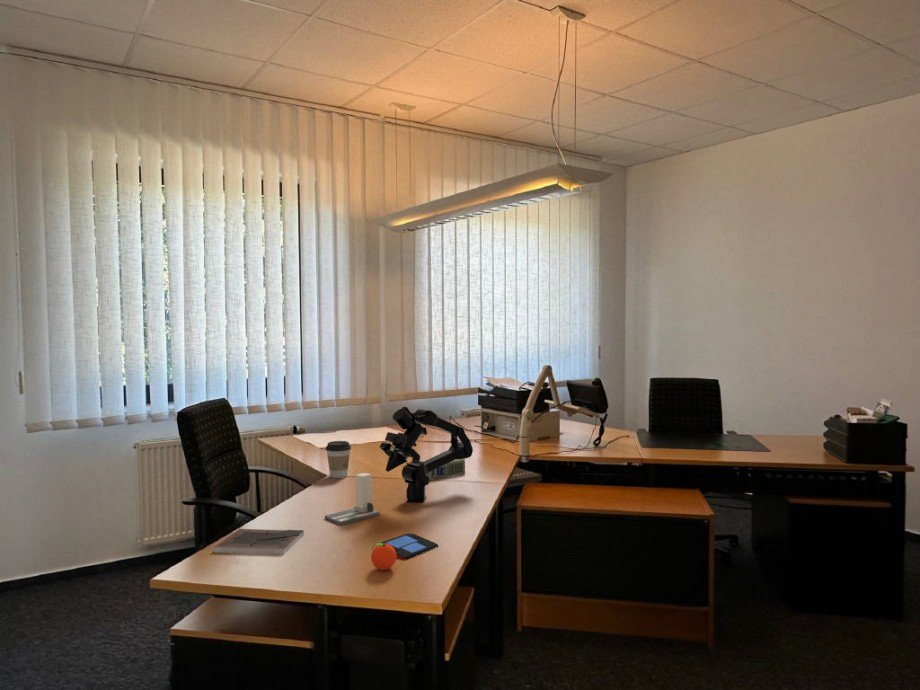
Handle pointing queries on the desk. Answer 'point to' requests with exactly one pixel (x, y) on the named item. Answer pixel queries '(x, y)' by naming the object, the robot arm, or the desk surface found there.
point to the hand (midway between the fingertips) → (386, 470)
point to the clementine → (383, 556)
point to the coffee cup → (338, 458)
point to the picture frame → (259, 541)
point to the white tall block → (364, 493)
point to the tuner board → (349, 516)
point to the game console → (410, 545)
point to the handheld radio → (448, 469)
